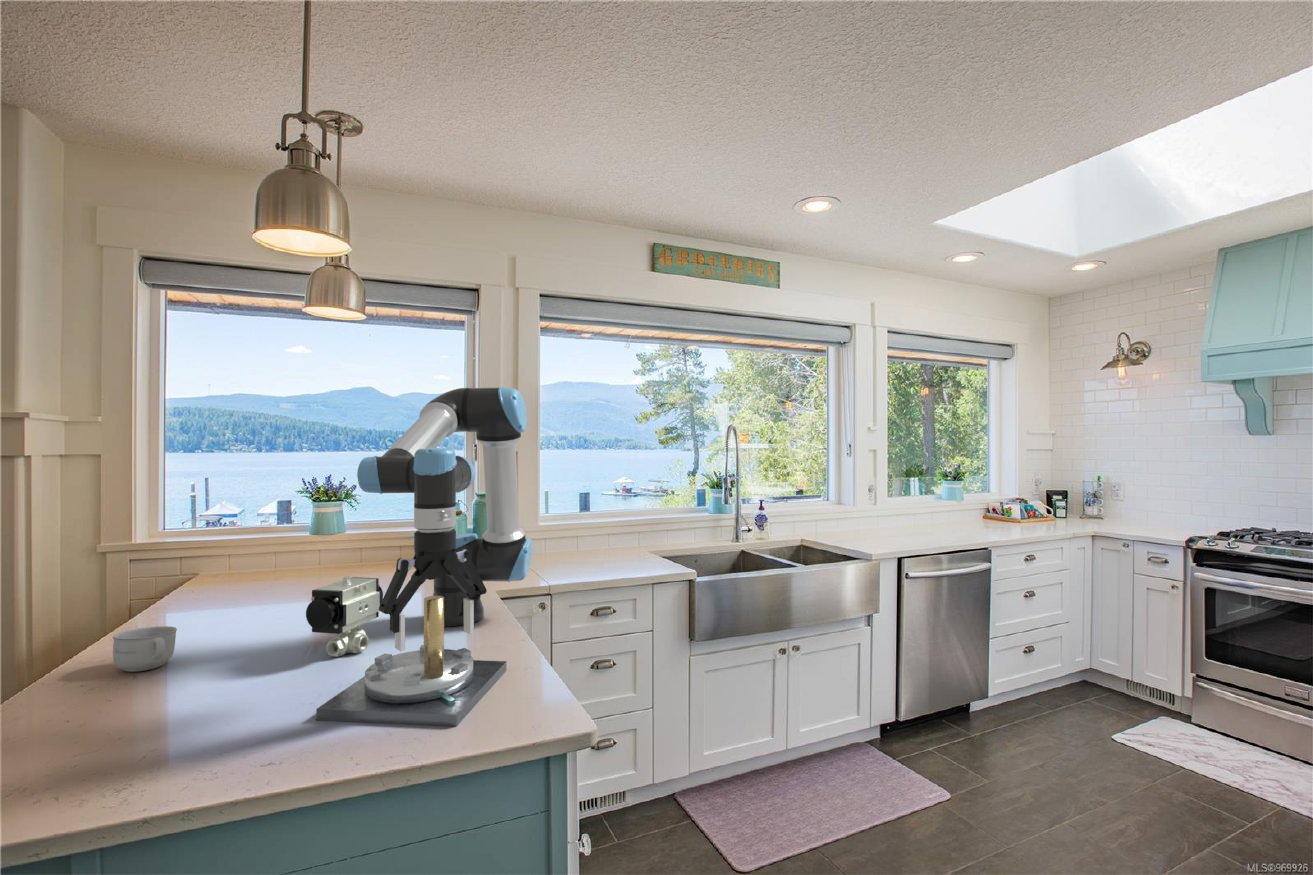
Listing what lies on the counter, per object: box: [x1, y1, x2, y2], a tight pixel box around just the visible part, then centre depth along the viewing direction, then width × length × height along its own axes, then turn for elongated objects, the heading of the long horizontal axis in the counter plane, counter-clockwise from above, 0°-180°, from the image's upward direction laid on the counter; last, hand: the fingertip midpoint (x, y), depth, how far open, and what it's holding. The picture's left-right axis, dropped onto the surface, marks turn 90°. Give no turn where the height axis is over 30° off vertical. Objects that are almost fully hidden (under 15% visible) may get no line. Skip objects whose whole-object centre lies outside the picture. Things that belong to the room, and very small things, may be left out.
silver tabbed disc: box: [364, 595, 474, 703], centre depth 122 cm, size 20×20×18 cm
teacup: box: [112, 625, 178, 673], centre depth 135 cm, size 14×11×8 cm
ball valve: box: [305, 575, 384, 657], centre depth 145 cm, size 18×8×18 cm, turn 168°
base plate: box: [315, 659, 508, 727], centre depth 122 cm, size 26×26×3 cm
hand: (435, 640), depth 117 cm, fingers open, 13 cm apart
